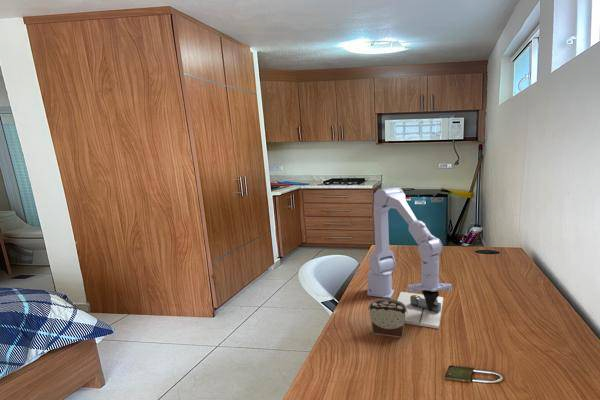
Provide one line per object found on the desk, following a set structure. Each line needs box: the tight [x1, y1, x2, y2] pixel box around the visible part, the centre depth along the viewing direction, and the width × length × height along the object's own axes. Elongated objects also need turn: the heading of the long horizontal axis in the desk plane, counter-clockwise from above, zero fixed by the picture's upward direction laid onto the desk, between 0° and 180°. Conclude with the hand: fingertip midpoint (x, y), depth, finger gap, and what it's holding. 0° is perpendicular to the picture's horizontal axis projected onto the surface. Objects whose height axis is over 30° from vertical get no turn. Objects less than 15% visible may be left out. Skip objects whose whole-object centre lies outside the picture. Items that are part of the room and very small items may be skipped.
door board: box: [396, 291, 444, 330], centre depth 132 cm, size 16×24×3 cm, turn 156°
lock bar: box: [410, 295, 441, 312], centre depth 131 cm, size 11×4×3 cm, turn 48°
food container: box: [367, 298, 408, 339], centre depth 117 cm, size 12×6×10 cm, turn 71°
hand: (429, 310), depth 127 cm, fingers closed
